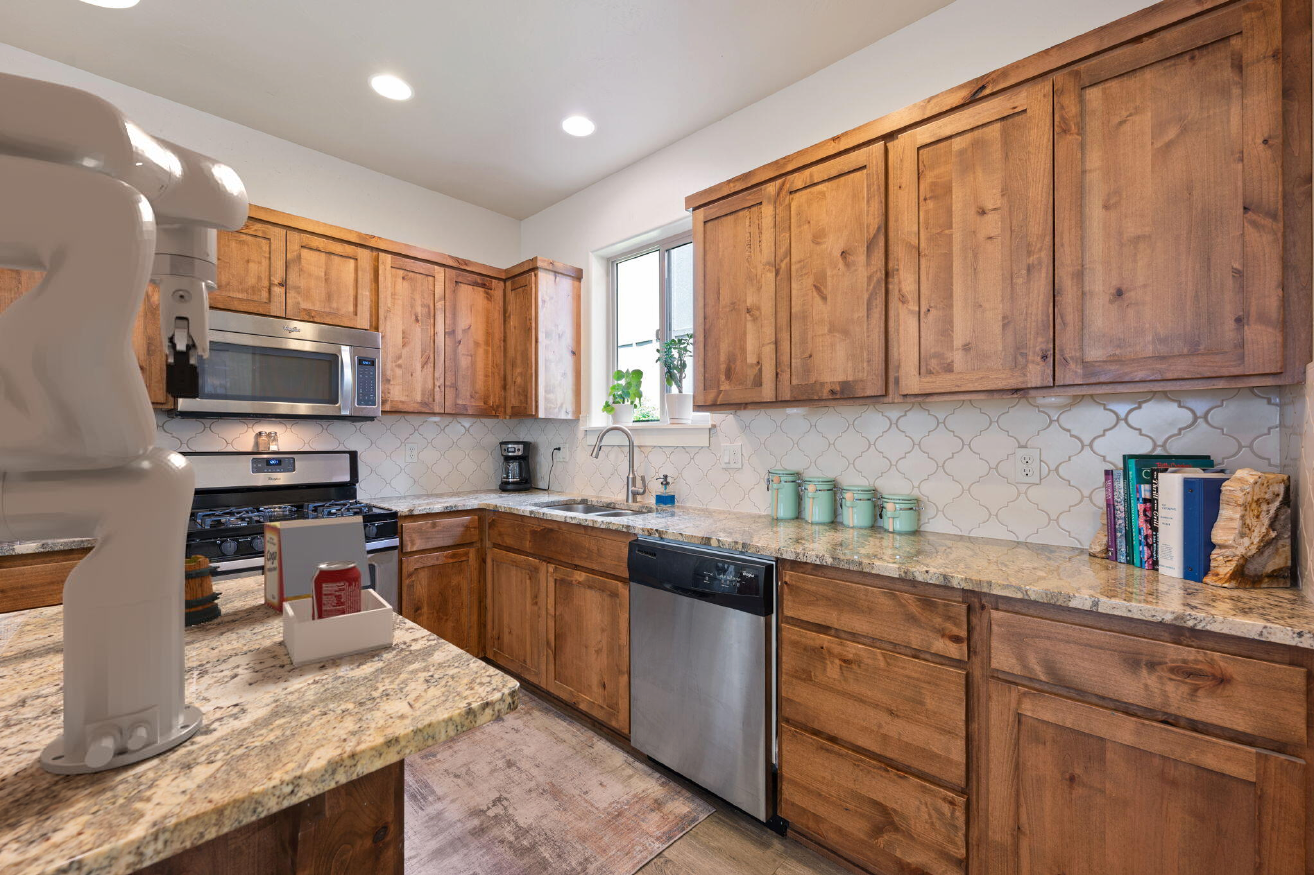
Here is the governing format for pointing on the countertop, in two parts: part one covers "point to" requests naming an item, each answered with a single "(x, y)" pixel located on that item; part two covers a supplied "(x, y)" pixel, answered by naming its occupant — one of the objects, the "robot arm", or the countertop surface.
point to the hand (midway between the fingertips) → (183, 396)
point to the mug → (200, 592)
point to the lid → (320, 549)
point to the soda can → (336, 589)
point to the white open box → (336, 630)
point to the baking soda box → (275, 569)
